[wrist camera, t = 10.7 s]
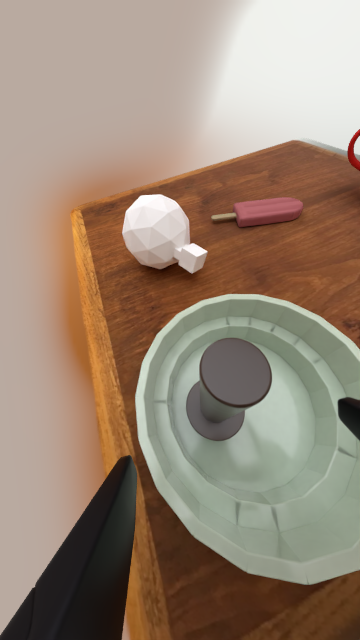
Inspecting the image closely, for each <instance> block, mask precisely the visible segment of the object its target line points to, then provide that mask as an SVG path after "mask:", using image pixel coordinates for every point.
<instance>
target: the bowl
mask: <svg viewBox="0 0 360 640" xmlns="http://www.w3.org/2000/svg"><path fill="white" fill-rule="evenodd" d="M224 338H239V339H243V340H246V341H248V342H250V343H252V344H253V345H255V346H256V347H257V348H259V349H260V350H261V351H262V352H263V354H264V355H265V356H266V358H267V360H268V362H269V364H270V367H271V371H272V384H271V388H270V390H269V393H268V394H267V396H266V397H265V398H264V399H263V400H262V401H261V402H260V403H258V404H256V405H254V406H252V407H250V408H248V409H246V410H245V417H244V422H243V424H242V427H241V428H240V430H239V431H238V432H237V434H235V435H234V436H233V437H231V438H230V439H227V440H224V441H212V440H209V439H206V438H204V437H203V436H201V435H200V434H199V433H197V432H196V431H195V429H194V428H193V427H192V425H191V423H190V421H189V419H188V416H187V412H186V400H187V396H188V393H189V391H190V390H191V388H192V387H193V385H194V384H196V383H197V382H198V381H200V378H199V365H200V360H201V357H202V355H203V353H204V351H205V350H206V349H207V347H208V346H210V345H211V344H212V343H214V342H215V341H218V340H220V339H224ZM135 397H136V398H135V403H136V415H137V428H138V439H139V443H140V446H141V449H142V451H143V454H144V457H145V459H146V462H147V465H148V467H149V470H150V472H151V475H152V478H153V480H154V483H155V486H156V488H157V489H158V491H159V493H160V494H161V495H162V496H163V498H164V499H165V500H166V502H167V503H168V504H169V506H170V507H171V508H172V510H173V511H174V512H175V514H176V515H177V516H178V517H179V519H180V520H181V521H182V523H183V524H184V525H185V527H186V528H187V529H188V531H189V532H190V533H191V535H194V538H196V539H197V540H199V541H200V542H202V543H203V544H205V545H206V546H208V547H209V548H211V549H212V550H214V551H215V552H217V553H218V554H219V555H221V556H222V557H224V558H225V559H227V560H228V561H230V562H231V563H233V564H234V565H236V566H237V567H239V568H240V569H242V570H243V571H245V572H246V571H247V573H250V574H255V575H260V576H265V577H269V578H274V579H279V580H284V581H289V582H294V583H299V584H303V585H312V584H315V583H318V582H322V581H325V580H328V579H331V578H335V577H338V576H341V575H345V574H348V573H351V572H355V571H358V570H360V441H359V440H358V439H357V438H356V437H355V436H354V435H353V433H352V432H351V431H350V430H349V429H348V428H347V427H346V426H345V425H344V424H343V423H342V421H341V420H340V419H339V416H338V404H337V402H338V399H341V398H344V397H351V398H355V399H358V400H360V350H359V348H358V347H357V346H356V345H355V344H354V342H352V340H350V339H349V338H348V337H346V336H345V335H344V334H342V333H341V332H340V331H339V330H337V329H336V328H335V327H333V326H332V325H331V324H330V323H328V322H327V321H326V320H324V319H323V318H322V317H321V318H320V316H318V315H316V314H314V313H312V312H310V311H308V310H305V309H303V308H301V307H299V306H297V305H295V304H293V303H291V302H288V301H284V300H280V299H276V298H272V297H267V296H263V295H258V294H227V295H223V296H219V297H214V298H210V299H206V300H202V301H200V302H198V303H197V304H195V305H193V306H191V307H189V308H187V309H186V310H184V311H182V312H180V313H178V314H177V315H176V316H175V317H174V318H173V319H172V320H171V321H170V322H169V323H168V324H167V325H166V326H165V327H164V328H163V329H162V330H161V331H160V332H159V333H158V334H157V336H156V338H155V339H154V341H153V343H152V345H151V347H150V349H149V350H148V352H147V354H146V356H145V358H144V360H143V362H142V366H141V371H140V376H139V381H138V386H137V390H136V395H135Z"/></svg>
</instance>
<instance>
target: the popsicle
mask: <svg viewBox="0 0 360 640" xmlns="http://www.w3.org/2000/svg"><path fill="white" fill-rule="evenodd" d="M302 210H303V203H302V202H301V201H299V200H298V199H294V198H285V197H283V198H274V199H265V200H256V201H249V202H241V203H235V204H234V206H233V213H229V214H221V215H213V216H212V217H211V219H212V220H222V219H230V218H236V221H237V223H238V226H239V227H247V226H255V225H263V224H270V223H277V222H284V221H291V220H293V219H296V218H298V216H299V215H300V214H301V212H302Z"/></svg>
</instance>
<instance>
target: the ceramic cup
mask: <svg viewBox="0 0 360 640" xmlns="http://www.w3.org/2000/svg"><path fill="white" fill-rule="evenodd" d="M359 136H360V129H359V130H358V131H357V132H356V133H355V135H354V136H353V138H352V139H351V141H350V143H349V146H348V159H349V162H350V163H351V165H352V166H353V167H355V168H356V169H357V170H359V171H360V162H359V161H358V160H357V159H356V157H355V155H354V144H355V141H356V140H357V138H358V137H359Z"/></svg>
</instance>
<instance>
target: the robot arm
mask: <svg viewBox="0 0 360 640" xmlns="http://www.w3.org/2000/svg"><path fill="white" fill-rule="evenodd" d="M337 404H338V416H339V419H340V420H341V421H342V423H343V424H344V425H345V426H346V427H347V428H348V429H349V430H350V431H351V432H352V433H353V435H354V436H355V437H356V438H357V439H358V440H359V441H360V400H358V399H355V398H351V397H344V398H341V399H338V402H337ZM136 489H137V471H136V468H135V465H134V462H133V460H132V457H131V456H130V455H128V456H124V457H121V458H120V459H119V460H118V461H117V463H116V464H115V466H114V467H113V469H112V470H111V472H110V473H109V475H108V476H107V478H106V479H105V481H104V482H103V484H102V485H101V487H100V488H99V490H98V492H97V493H96V494H95V496H94V497H93V499H92V500H91V502H90V503H89V505H88V506H87V508H86V509H85V511H84V512H83V514H82V515H81V517H80V518H79V520H78V521H77V523H76V524H75V526H74V527H73V529H72V530H71V532H70V533H69V535H68V536H67V538H66V539H65V541H64V542H63V544H62V545H61V547H60V548H59V550H58V551H57V553H56V554H55V556H54V557H53V559H52V560H51V561H50V563H49V564H48V566H47V568H46V569H45V571H44V572H43V573H42V575H41V577H40V578H39V580H38V581H37V582H36V585H35V587H34V588H32V590H31V591H30V593H29V594H28V596H27V597H26V599H25V600H24V602H23V603H22V605H21V606H20V608H19V609H18V611H17V612H16V614H15V615H14V617H13V618H12V619H11V621H10V622H9V624H8V625H7V627H6V628H5V630H4V631H3V632H2V634H1V635H0V640H122V631H123V623H124V615H125V607H126V598H127V590H128V582H129V574H130V565H131V557H132V549H133V541H134V531H135V514H136Z"/></svg>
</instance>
